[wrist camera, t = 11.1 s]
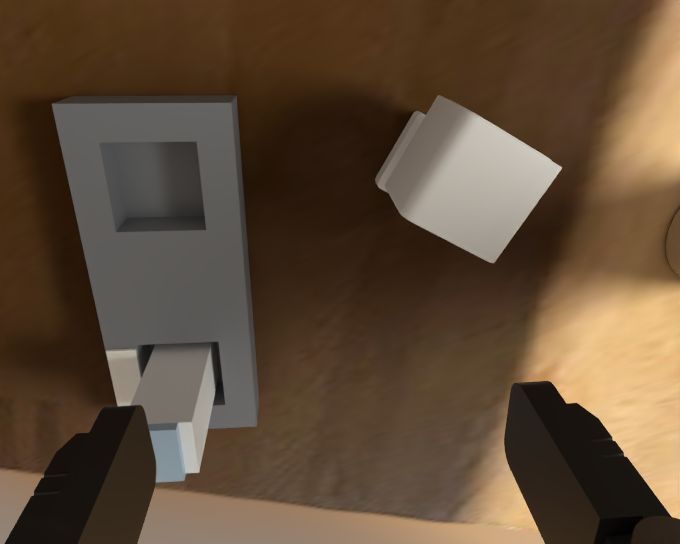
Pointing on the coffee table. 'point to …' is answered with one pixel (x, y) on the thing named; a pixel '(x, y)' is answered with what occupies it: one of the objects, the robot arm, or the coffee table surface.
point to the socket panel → (165, 234)
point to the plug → (178, 405)
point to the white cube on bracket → (464, 178)
